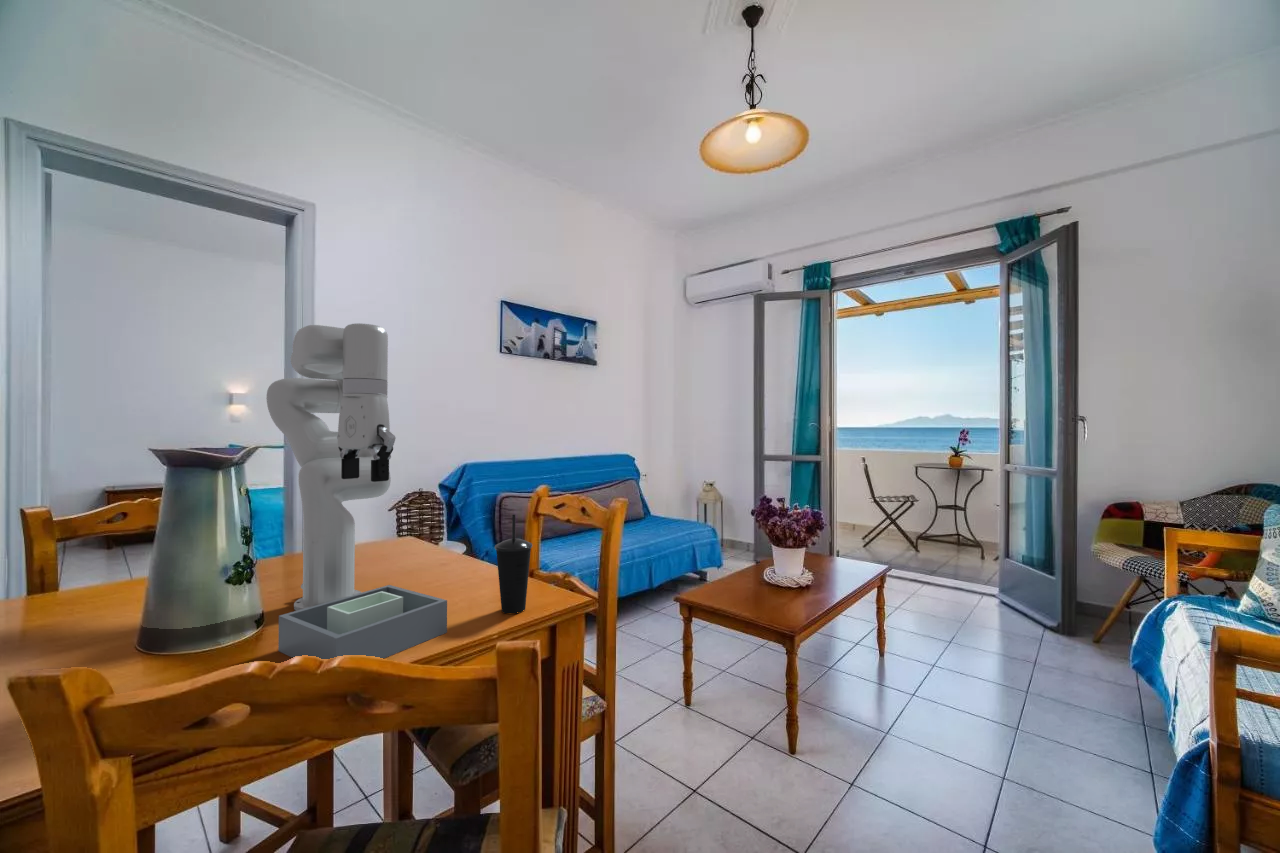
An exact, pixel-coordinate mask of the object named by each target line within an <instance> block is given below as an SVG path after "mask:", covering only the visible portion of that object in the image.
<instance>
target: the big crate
mask: <svg viewBox="0 0 1280 853" xmlns="http://www.w3.org/2000/svg"><path fill="white" fill-rule="evenodd" d="M381 591H383V592H387V593H391V594H394V595H398V596H401V597H403V613H402V614H399V615H396V616H393V617H390V618H387V619H384V620H381V621H378V622H375V623H373V624H370V625H367V626H364V627H361V628H358V629H355V630H352V631H349V632H346V633H343V634H340V635H339V634H336V633H334V632H331V631H328V630H327V607H329V606H333V605H336V604H339V603H343V602H346V601H350V600H353V599H357V598H360V597H364V596H367V595H371V594H374V593H378V592H381ZM361 592H362V591H361ZM446 633H448V600H447V599H443V598H440V597H436V596H432V595H428V594H425V593H420V592H418V591H413V590H410V589H406V588H402V587H399V586H396V585H393V584H392V585H391V584H388V585H385V586H380V587H376V588H374V589H370V590H366V591H363V592H362V593H358V594H355V595H351V596H348V597H344V598H341V599H337V600H333V601H330V602H326V603H323V604H319V605H316V606H312V607H308V608H305V609H301V610H298V611H296V610H294V611H290V612H288V613H284V614H280V615H278V642H277V643H278V644H277V646H278V649H277V650H278V652H280V653H281V654H284V655H286V656H288V657H291V658H292V657H295V656H302V655H308V656H316V657H319V658H321V659H330V658H334V657H337V656H343V655H366V656H375V657H380V658H384V659H385V658H389V657H390V656H391V657H392V656H393V655H396V654H397V653H401V652H403V651H405V650H407V649H410V648H412V647H415V646H417V645H420V644H423V643H425V642H427V641H430V640H432V639H436V638H437V637H439V636H442V635H445V634H446Z"/></svg>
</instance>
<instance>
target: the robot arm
mask: <svg viewBox="0 0 1280 853" xmlns="http://www.w3.org/2000/svg"><path fill="white" fill-rule="evenodd" d="M388 336H389V335H388V331H387V330H386V329H385V328H384V327H382V326H380V325H375V324H370V323H350V324H347V325H346V326H345V327H344V328H343V327H337V326H336V327H335V326H330V325H329V326H327V325H320V324H310V325H306V326H303V327H302V328H300V329H298V330H297V331H296V333H295V335H294V336H293V337H294V338H293V341H292V353H291V355H290V364H291V366H292V368H293V370H294V371H295V372H296V373H297V374H299V375H300V376H303V377H305V378H301V377H289V378H281V379H278V380H275V381H273V382H272V383H271V384H270V385H269V386H268V388H267V391H266V404H267V409H268V413H269V415H270V419H271V420H272V422H273V423H274V425H275V426H276V427H277V429H279V431H280V432H281V433H282V434H283V435H284V436H285V437H286V438H287V441H288V443H289V446H290V447H291V448H290V449H292V450H291V451H292V453H293V454H294V457H295V459H296V461H297V463H298V464H299V466H300V470H299V472H298V486H299V487H298V488H299V492H300V493H299V494H300V498H301V504H302V519H303V522H302V524H303V529H302V532H303V535H302V536H303V538H302V540H303V542H302V543H303V545H302V546H303V547H302V548H303V550H302V553H303V555H302V583H301V584H300V588H301V589H302V597H300V598H298V599H297V600H295V602H294V603H293V610H294V611H298V610H301V609H305V608H308V607H312V606H316V605H319V604H323V603H326V602H330V601H333V600H337V599H341V598H344V597H348V596H351V595H355V594H358V593H362V591H360V590H357V589H355V567H356V566H355V560H356V559H355V553H356V551H355V550H356V547H355V545H356V541H355V540H356V538H355V537H356V523H355V519H354V516H353V514H352V513H351V512H350V510H348V509H347V508H346V507H345V506H344V505H343V502H346V501H354V500H364V499H374V498H379V497H382V496H383V495H384V494H386V493H387V492H388V491H389V488H390V486H391V478H392V477H391V472H390V460H391V458H392V452H393V450H394V445H395V441H396V438H397V437H396V435H395V434H393V432H392V431H390V429H391V428H390V427H391V424H390V413H389V404H388V386H389V385H388V383H389V382H388V375H389V374H388V370H389V369H388V364H389V363H388V358H389V354H388V353H389V351H388V350H389V348H388V346H389V337H388ZM314 413H315V414H339V415H338V423H337V424H338V425H337V426H338V427H337V428H338V429H337V431H331V430H330V429H329V427H328V425H327V423H326V422H325V421H324V420H323V419H321V418H320V417H318V416H317V415H315V414H314Z"/></svg>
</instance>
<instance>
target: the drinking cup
mask: <svg viewBox="0 0 1280 853" xmlns="http://www.w3.org/2000/svg"><path fill="white" fill-rule="evenodd" d="M511 518H512V519H511V520H512V521H511V537H512V538H509V539H506V540H502V541H501V542H499V543H496V544H495V545H494V549H495V551H496V562H497V576H498V586H499V595H500V605H501V612H502V613H503V612H504V613H503V614H506V613H516V614H518V613H517V612H520V613H522V612H521V611H523V610H524V611H525V610H526V605H527V604H526V603H527V594H528V583H529V572H530V571H529V570H530V563H531V562H530V561H531V552H532V551H531V550H532V548H533V543H532V542H529V541H528V540H525V539H521V538H516V514H511ZM524 611H523V612H524Z"/></svg>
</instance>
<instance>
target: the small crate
mask: <svg viewBox="0 0 1280 853" xmlns="http://www.w3.org/2000/svg"><path fill="white" fill-rule="evenodd" d="M402 613H403V597H401V596H398V595H394V594H391V593H387V592H383V591H381V592H378V593H374V594H371V595H367V596H364V597H360V598H357V599H353V600H350V601H346V602H343V603H339V604H336V605H333V606H329V607H327V630H328V631H331V632H334V633H336V634H339V635H340V634H343V633H346V632H349V631H352V630H355V629H358V628H361V627H364V626H367V625H370V624H373V623H375V622H378V621H381V620H384V619H387V618H390V617H393V616H396V615H399V614H402Z"/></svg>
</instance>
